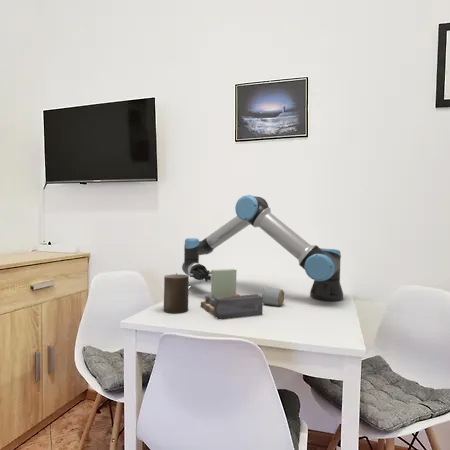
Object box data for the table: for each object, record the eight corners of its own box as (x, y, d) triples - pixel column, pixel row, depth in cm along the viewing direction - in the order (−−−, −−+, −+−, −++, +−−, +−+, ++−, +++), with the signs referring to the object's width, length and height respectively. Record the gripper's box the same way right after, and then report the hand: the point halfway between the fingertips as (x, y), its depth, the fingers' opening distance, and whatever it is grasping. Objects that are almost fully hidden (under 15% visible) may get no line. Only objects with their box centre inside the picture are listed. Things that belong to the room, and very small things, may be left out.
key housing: (200, 306, 150) (200, 288, 150) (239, 303, 157) (240, 285, 157) (219, 319, 131) (219, 299, 131) (262, 315, 139) (262, 295, 138)
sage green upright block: (211, 301, 150) (211, 269, 150) (232, 299, 154) (233, 268, 154) (213, 302, 147) (214, 270, 147) (235, 300, 151) (236, 269, 151)
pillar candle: (186, 313, 138) (187, 274, 138) (161, 313, 138) (162, 274, 138) (189, 307, 148) (190, 271, 148) (165, 307, 148) (166, 270, 148)
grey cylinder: (279, 308, 150) (280, 289, 150) (261, 305, 153) (261, 287, 153) (287, 303, 159) (287, 285, 159) (269, 300, 163) (269, 283, 163)
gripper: (209, 278, 182) (228, 287, 160) (184, 279, 177) (200, 288, 155) (209, 263, 182) (228, 270, 160) (184, 264, 177) (201, 271, 155)
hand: (215, 279), depth 158 cm, fingers closed
